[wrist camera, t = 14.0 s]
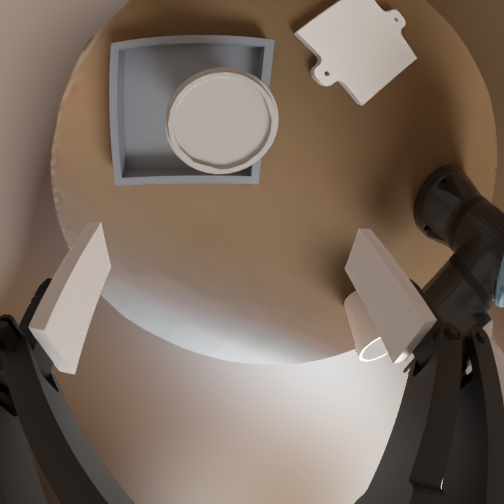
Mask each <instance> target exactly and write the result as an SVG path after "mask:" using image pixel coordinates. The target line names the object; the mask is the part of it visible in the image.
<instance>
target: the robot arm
mask: <svg viewBox="0 0 504 504" xmlns="http://www.w3.org/2000/svg"><path fill="white" fill-rule="evenodd" d="M414 217H415V222H416V225H417V227H418V228H419V229H420V230H421V231H422V232H423V233H424V234H425V235H426V236H427V237H428V238H430V239H432V240H435V241H437V242H439V243H441V244H443V245H446V246H448V247H449V248H450V249H451V250H452V251H453V252H454V254H453V255H452V256H451V257H450V259H449V260H448V261H447V262H446V263H445V264H444V265H443V267H442V268H441V269H440V270H439V271H438V272H437V273H436V274H435V276H434V277H433V278H432V279H431V280H430V281H429V282H428V283H427V284H426V285H425V286H424V287H423V288H422V289H421V288H420V287H419V286H418V285H417V284H416V283H415V282H414V281H412V280H411V279H409V278H408V277H407V275H406V274H405V273H404V271H403V270H402V269H401V267H400V266H399V265H398V263H397V262H396V261H395V259H394V258H393V257H392V256H391V254H390V253H389V252H388V250H387V249H386V248H385V247H384V245H383V244H382V243H381V242H380V240H379V239H378V238H377V237H376V236H375V234H374V233H373V232H372V231H371V229H358V232H357V235H356V238H355V241H354V244H353V247H352V250H351V252H350V255H349V258H348V261H347V263H346V266H345V271H346V273H347V274H348V276H349V278H350V280H351V281H352V283H353V285H354V287H355V289H356V291H357V292H358V294H359V296H360V298H361V300H362V302H363V304H364V306H365V307H366V309H367V311H368V313H369V315H370V317H371V319H372V321H373V323H374V325H375V327H376V329H377V331H378V333H379V335H380V337H381V339H382V341H383V343H384V345H385V347H386V349H387V351H388V354H389V356H390V358H391V360H392V362H393V363H397V362H401V361H405V360H406V359H407V358H408V357H409V356H410V354H411V353H412V352H413V354H414V356H415V358H414V359H413V360H412V361H411V362H410V363H409V365H408V366H407V367H406V368H405V369H404V371H403V372H406V371H407V370H408V369H409V368H410V371H409V373H408V374H409V375H408V379H407V383H406V387H405V391H404V395H403V398H402V402H401V405H400V409H399V412H398V415H397V418H396V421H395V424H394V427H393V430H392V433H391V435H390V438H389V441H388V444H387V446H386V449H385V451H384V454H383V456H382V459H381V461H380V464H379V466H378V468H377V470H376V472H375V475H374V477H373V479H372V481H371V483H370V485H369V488H368V489H367V491H366V492H365V493H364V495H363V496H361V497H360V498H359V499H358V500H357V501H356V502H355V503H354V504H504V354H503V353H502V351H501V350H500V348H499V346H498V344H497V343H496V341H495V340H494V338H493V337H492V327H493V320H492V319H491V317H490V316H489V315H488V311H489V310H490V309H491V308H492V307H493V305H494V304H495V303H496V305H497V306H500V307H504V213H503V212H502V211H501V210H499V209H498V208H497V207H496V206H495V205H493V204H492V203H491V202H489V201H488V200H487V199H485V198H484V197H483V196H482V195H481V194H480V192H479V191H478V190H477V188H476V187H475V185H474V184H473V183H472V181H471V180H470V178H469V177H468V176H467V175H466V174H465V173H464V172H463V171H461V170H459V169H458V168H456V167H454V166H444V167H441V168H439V169H438V170H436V171H435V172H434V173H432V174H431V175H430V176H429V178H428V179H427V180H426V181H425V183H424V184H423V186H422V188H421V190H420V192H419V194H418V197H417V200H416V204H415V210H414ZM110 268H111V264H110V260H109V256H108V252H107V248H106V243H105V239H104V234H103V229H102V224H101V222H88V223H87V225H86V226H85V227H84V229H83V230H82V232H81V233H80V235H79V236H78V238H77V239H76V241H75V242H74V244H73V246H72V247H71V249H70V250H69V252H68V254H67V255H66V257H65V258H64V260H63V262H62V263H61V265H60V267H59V269H58V270H57V272H56V274H55V275H54V277H53V279H51V278H47V279H46V280H45V281H44V282H43V283H42V284H41V285H40V286H39V288H38V290H37V291H36V293H35V297H33V299H32V301H31V304H29V307H28V308H27V310H26V312H25V314H24V316H23V318H22V321H21V323H20V325H19V326H18V324H17V322H16V321H15V319H14V318H13V317H12V316H11V315H6V314H5V315H2V316H0V504H48V503H47V500H46V498H45V495H44V493H43V490H42V487H41V485H40V481H39V478H38V475H37V472H36V469H35V466H34V462H33V458H32V455H31V451H30V447H31V450H32V452H33V454H34V456H35V458H36V460H37V462H38V464H39V466H40V468H41V470H42V472H43V474H44V476H45V477H46V479H47V481H48V483H49V485H50V486H51V488H52V490H53V491H54V493H55V495H56V496H57V498H58V499H59V501H60V502H61V504H135V503H134V502H133V501H132V500H131V499H130V497H129V496H128V495H127V494H126V493H125V491H124V490H123V489H122V488H121V486H120V485H119V484H118V483H117V481H116V480H115V479H114V478H113V476H112V475H111V473H110V472H109V471H108V469H107V468H106V467H105V465H104V464H103V462H102V461H101V459H100V458H99V456H98V455H97V454H96V452H95V450H94V449H93V447H92V446H91V444H90V443H89V441H88V439H87V438H86V436H85V434H84V433H83V431H82V429H81V428H80V426H79V424H78V422H77V421H76V419H75V417H74V415H73V413H72V411H71V409H70V407H69V405H68V403H67V401H66V399H65V397H64V395H63V393H62V391H61V389H60V386H59V384H58V382H57V380H56V377H55V375H54V373H53V372H52V371H51V370H52V367H53V364H54V365H55V366H56V367H57V368H58V370H59V371H61V372H66V373H71V374H75V372H76V368H77V364H78V361H79V357H80V353H81V350H82V347H83V343H84V339H85V337H86V333H87V330H88V327H89V324H90V321H91V318H92V315H93V313H94V310H95V307H96V304H97V301H98V299H99V296H100V293H101V291H102V288H103V286H104V283H105V280H106V278H107V276H108V273H109V271H110ZM29 445H30V447H29ZM442 479H443V484H442V490H441V482H442Z"/></svg>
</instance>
